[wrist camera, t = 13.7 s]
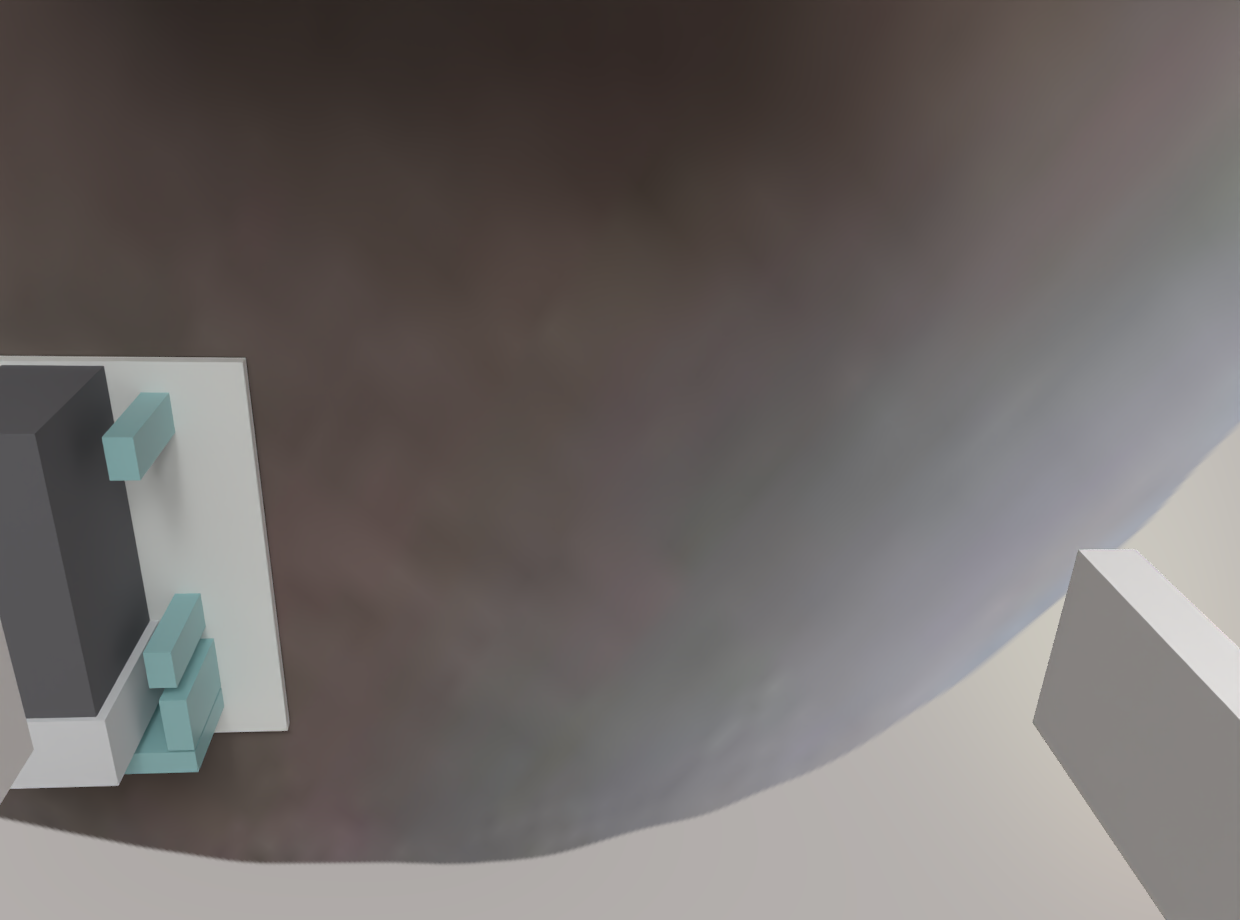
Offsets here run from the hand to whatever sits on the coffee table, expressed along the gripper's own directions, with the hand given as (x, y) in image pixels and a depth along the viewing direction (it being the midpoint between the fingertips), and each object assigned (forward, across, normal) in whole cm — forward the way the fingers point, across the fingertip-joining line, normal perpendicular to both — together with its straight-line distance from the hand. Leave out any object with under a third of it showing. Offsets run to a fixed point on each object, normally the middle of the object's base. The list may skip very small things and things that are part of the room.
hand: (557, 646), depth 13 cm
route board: (+27, -17, -14) cm, 35 cm away
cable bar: (+26, -17, -13) cm, 34 cm away
